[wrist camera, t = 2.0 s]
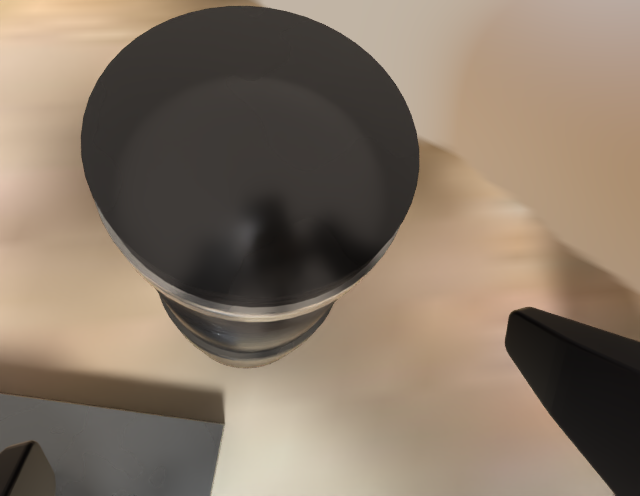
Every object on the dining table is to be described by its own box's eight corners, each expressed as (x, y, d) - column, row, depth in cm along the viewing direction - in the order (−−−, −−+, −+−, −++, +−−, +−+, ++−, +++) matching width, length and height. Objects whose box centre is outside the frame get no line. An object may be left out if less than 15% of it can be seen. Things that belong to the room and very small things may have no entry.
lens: (304, 381, 19) (418, 336, 7) (163, 360, 18) (10, 267, 6) (322, 252, 21) (434, 41, 9) (196, 228, 20) (131, -33, 8)
